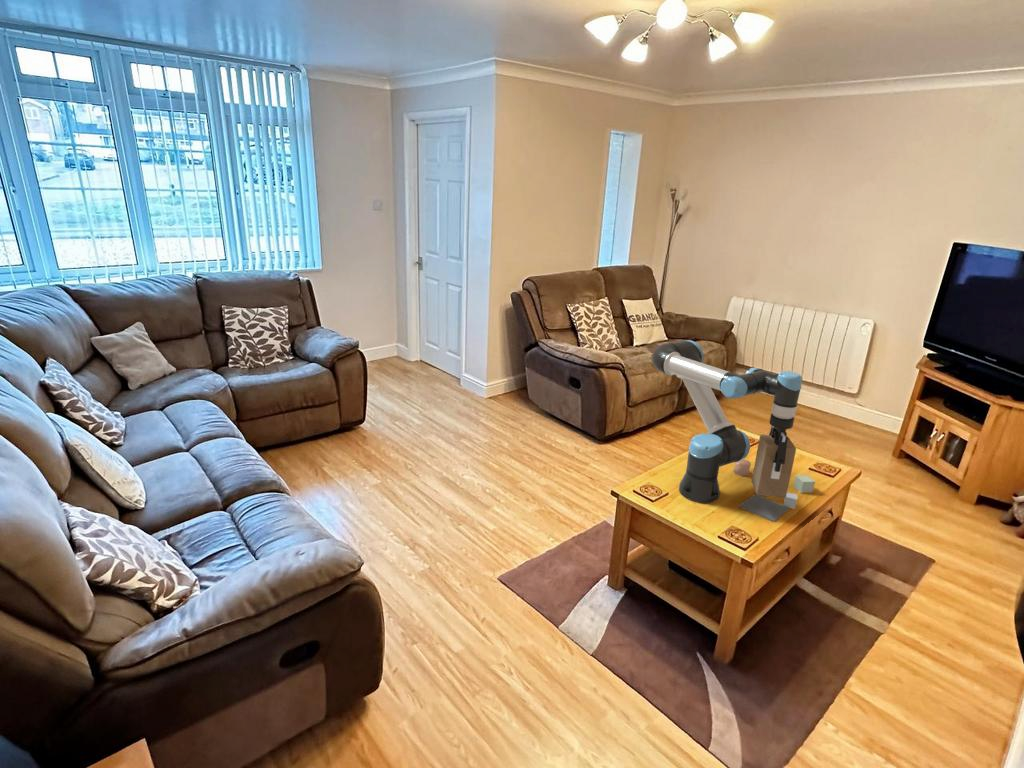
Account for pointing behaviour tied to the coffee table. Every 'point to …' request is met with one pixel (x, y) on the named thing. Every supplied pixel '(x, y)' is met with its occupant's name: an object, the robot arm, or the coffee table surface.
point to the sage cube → (804, 484)
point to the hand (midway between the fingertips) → (771, 471)
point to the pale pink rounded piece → (742, 467)
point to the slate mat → (764, 507)
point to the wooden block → (764, 468)
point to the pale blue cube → (790, 500)
